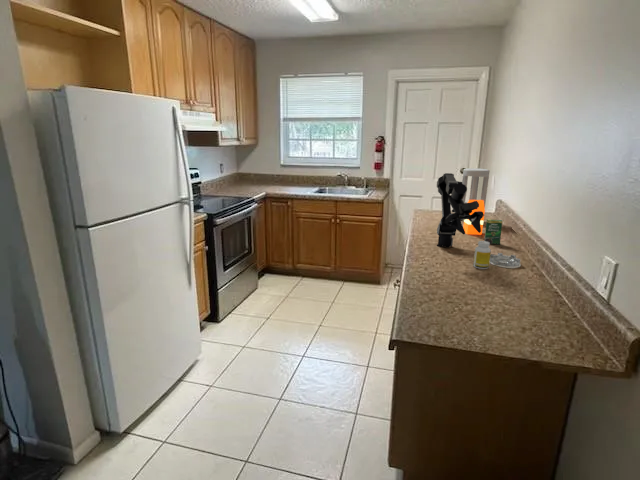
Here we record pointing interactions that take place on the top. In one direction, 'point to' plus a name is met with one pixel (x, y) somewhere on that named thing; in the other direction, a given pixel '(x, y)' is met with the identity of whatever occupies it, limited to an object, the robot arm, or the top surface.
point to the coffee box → (493, 231)
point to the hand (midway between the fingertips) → (472, 233)
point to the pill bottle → (482, 255)
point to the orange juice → (467, 224)
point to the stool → (476, 182)
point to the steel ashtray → (504, 261)
